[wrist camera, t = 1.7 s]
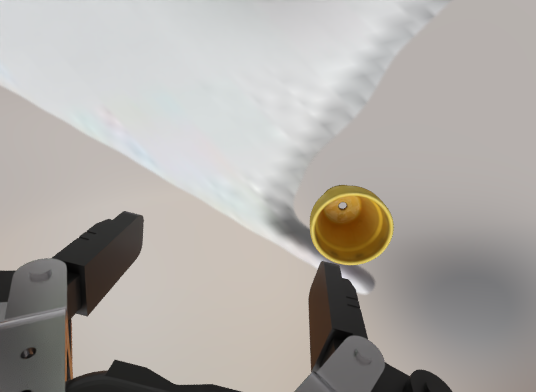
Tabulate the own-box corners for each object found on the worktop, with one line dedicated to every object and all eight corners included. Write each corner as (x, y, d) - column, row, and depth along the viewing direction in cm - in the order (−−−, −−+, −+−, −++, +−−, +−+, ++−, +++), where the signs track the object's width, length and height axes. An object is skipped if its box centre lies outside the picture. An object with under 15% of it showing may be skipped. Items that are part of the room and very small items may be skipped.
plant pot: (360, 161, 43) (376, 178, 34) (384, 218, 45) (406, 249, 36) (297, 189, 45) (296, 212, 36) (324, 242, 48) (329, 276, 39)
